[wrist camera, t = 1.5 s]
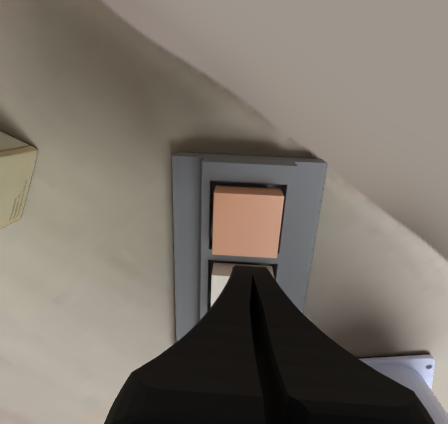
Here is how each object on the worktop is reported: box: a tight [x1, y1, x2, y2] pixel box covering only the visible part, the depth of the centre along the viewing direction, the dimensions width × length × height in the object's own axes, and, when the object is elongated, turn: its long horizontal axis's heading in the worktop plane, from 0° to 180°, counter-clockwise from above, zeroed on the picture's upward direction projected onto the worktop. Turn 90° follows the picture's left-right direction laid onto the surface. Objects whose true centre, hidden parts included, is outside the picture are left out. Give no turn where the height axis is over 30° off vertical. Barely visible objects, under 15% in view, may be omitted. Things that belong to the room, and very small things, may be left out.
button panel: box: [172, 152, 328, 342], centre depth 22 cm, size 18×10×3 cm, turn 178°
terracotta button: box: [212, 185, 284, 258], centre depth 18 cm, size 4×4×2 cm
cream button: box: [211, 263, 274, 306], centre depth 20 cm, size 4×4×2 cm
